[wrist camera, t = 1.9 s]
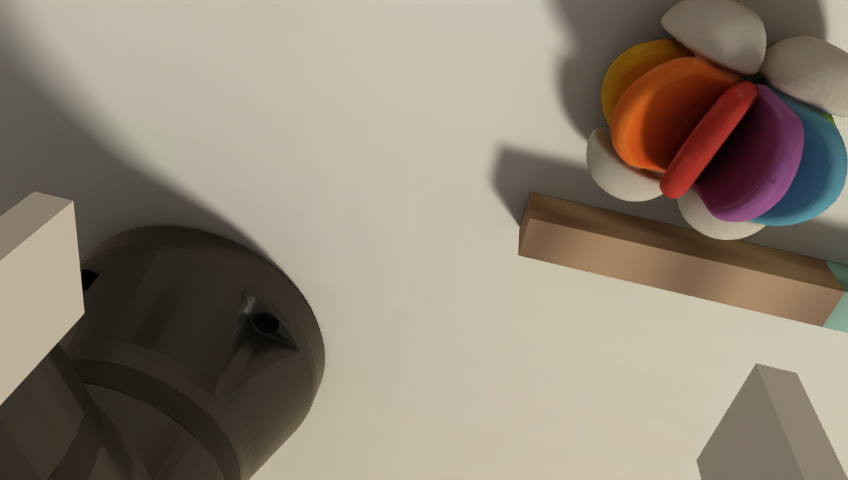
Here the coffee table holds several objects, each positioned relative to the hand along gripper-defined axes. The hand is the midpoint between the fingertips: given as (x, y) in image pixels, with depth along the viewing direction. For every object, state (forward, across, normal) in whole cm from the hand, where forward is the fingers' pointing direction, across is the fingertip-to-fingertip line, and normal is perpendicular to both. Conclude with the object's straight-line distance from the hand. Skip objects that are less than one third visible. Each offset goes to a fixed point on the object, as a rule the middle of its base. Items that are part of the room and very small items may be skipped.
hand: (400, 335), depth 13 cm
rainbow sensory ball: (+19, +10, 0) cm, 22 cm away
